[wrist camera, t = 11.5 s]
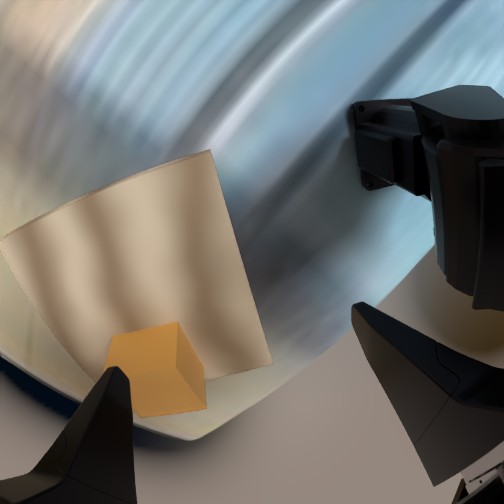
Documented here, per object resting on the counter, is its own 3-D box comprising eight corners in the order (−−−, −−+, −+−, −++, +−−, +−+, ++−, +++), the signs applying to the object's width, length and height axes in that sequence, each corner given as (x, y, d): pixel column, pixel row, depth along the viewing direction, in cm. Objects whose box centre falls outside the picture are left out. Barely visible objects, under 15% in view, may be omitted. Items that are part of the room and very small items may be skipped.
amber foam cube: (177, 321, 21) (175, 367, 17) (203, 367, 24) (206, 409, 20) (112, 335, 20) (101, 378, 16) (145, 378, 23) (141, 417, 20)
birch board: (210, 149, 16) (212, 163, 12) (269, 352, 26) (281, 393, 22) (6, 234, 16) (-27, 266, 12) (109, 384, 26) (103, 421, 21)
